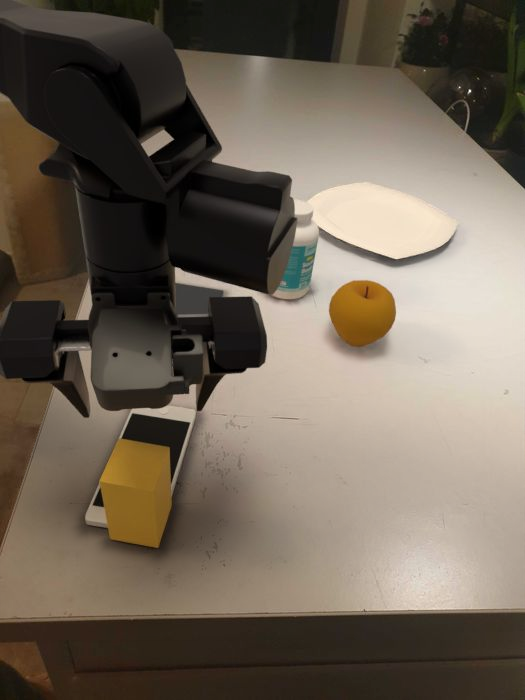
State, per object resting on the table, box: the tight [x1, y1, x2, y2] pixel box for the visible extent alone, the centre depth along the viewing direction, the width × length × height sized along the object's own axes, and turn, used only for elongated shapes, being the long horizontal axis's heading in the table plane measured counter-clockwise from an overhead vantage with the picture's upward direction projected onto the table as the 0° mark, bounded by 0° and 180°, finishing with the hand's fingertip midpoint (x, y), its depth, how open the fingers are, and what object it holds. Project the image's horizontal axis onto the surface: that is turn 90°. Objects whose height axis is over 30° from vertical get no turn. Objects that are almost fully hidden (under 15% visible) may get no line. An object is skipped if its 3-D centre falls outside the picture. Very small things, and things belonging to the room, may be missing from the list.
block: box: [98, 437, 173, 549], centre depth 46 cm, size 4×4×9 cm
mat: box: [172, 282, 224, 360], centre depth 73 cm, size 12×16×1 cm
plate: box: [306, 181, 459, 261], centre depth 100 cm, size 27×27×2 cm
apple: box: [328, 279, 397, 348], centre depth 71 cm, size 9×9×9 cm
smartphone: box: [84, 404, 197, 529], centre depth 54 cm, size 7×15×1 cm, turn 173°
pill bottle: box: [271, 199, 320, 300], centre depth 77 cm, size 8×7×14 cm
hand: (144, 410), depth 45 cm, fingers open, 9 cm apart
